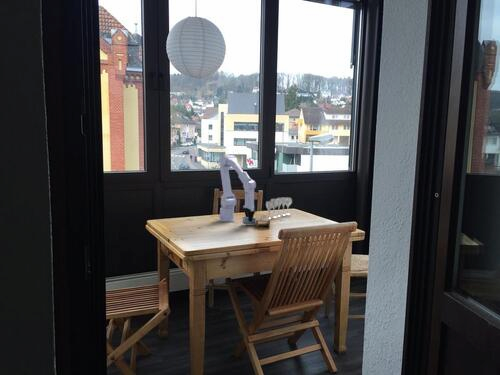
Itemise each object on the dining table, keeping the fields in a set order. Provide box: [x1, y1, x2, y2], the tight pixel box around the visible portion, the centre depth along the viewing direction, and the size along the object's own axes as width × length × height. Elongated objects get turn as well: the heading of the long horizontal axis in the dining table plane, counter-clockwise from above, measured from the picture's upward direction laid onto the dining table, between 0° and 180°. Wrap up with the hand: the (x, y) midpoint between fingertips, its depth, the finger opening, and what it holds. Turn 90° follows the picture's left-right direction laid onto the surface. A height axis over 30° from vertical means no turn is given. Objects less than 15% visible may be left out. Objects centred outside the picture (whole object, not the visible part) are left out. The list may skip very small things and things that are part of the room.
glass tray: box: [242, 216, 256, 225], centre depth 268 cm, size 7×5×4 cm
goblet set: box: [265, 196, 293, 220], centre depth 301 cm, size 28×6×13 cm, turn 140°
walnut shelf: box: [255, 214, 271, 229], centre depth 269 cm, size 8×17×5 cm, turn 179°
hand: (249, 220), depth 268 cm, fingers closed on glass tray, 5 cm apart
